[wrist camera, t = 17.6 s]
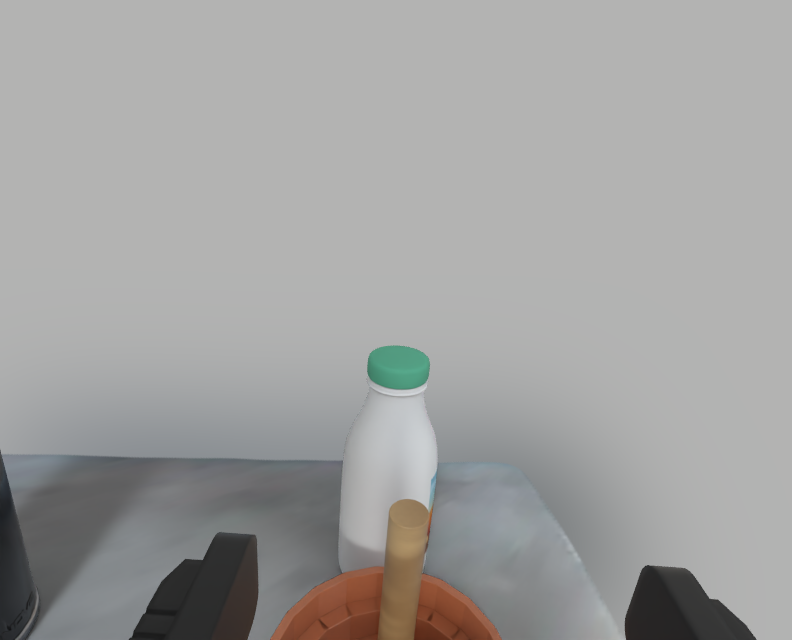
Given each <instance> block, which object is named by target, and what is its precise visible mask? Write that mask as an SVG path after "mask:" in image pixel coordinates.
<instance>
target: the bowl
mask: <svg viewBox="0 0 792 640" xmlns="http://www.w3.org/2000/svg"><path fill="white" fill-rule="evenodd" d="M383 573H384V567H382V566H374V567H369V568H364V569H359V570H354V571H349V572H345V573H342V574H340V575H338V576H336V577H334V578H332V579H330V580H328V581H326V582H324V583H322V584H320V585H318V586H316V587H315V588H313V589H312V590H311V591H310V592H309V593H308V594H307V595H305V596H304V597H303V598H302V599H301V600H300V601H299V602H298V603H297V604H296V605H294V606H293V607H292V608H291V609H290V610H289V611H288V612H287V613H286V615H285V616H284V618H283V619H282V621H281V623H280V624H279V626H278V628H277V629H276V631H275V632H274V634H273V636H272V637H271V639H270V640H378V628H379V617H380V606H381V595H382V584H383ZM414 640H502V639H501V637H500V635H499V633H498V631H497V629H496V628H495V626H494V625H493V624H492V623H491V622H490V621H489V619H488V618H487V617H486V616H485V615H484V614H483V613H482V612H481V611H480V609H479V608H478V607H477V606H476V605H475V604H474V603H473V602H472V600H470V598H468V597H467V596H465V595H464V594H462V593H461V592H459V591H458V590H456V589H455V588H453V587H452V586H450V585H449V584H447V583H446V582H444V581H443V580H440V579H438V578H435V577H432V576H429V575H427V574H424V573H422V579H421V587H420V595H419V602H418V610H417V618H416V626H415V634H414Z"/></svg>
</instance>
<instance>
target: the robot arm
mask: <svg viewBox="0 0 792 640" xmlns="http://www.w3.org/2000/svg"><path fill="white" fill-rule="evenodd" d="M257 599H258V563H257V539H256V536H255V535H249V534H235V533H222V532H219V533H217V534H216V535H215V537H214V539H213V540H212V542H211V544H210V546H209V549H208V551H207V553H206V555H205V557H204V559H203V560H191V559H185V560H184V561H183V562H182V563H181V564H180V565H178V566H177V567H176V568H175V569H174V570H173V571H172V572H171V573H170V574H169V575H168V576H167V577H166V578H165V579H164V580H163V581H162V582H161V584H160V585H159V587H158V589H157V591H156V593H155V594H154V596H153V598H152V600H151V601H150V603H149V605H148V607H147V610H146V613H145V614H143V616H142V617H141V619H140V621H139V623H138V625H137V626H136V628H135V630H134V632H133V636H132V638H130V639H129V640H247V639H248V636H249V633H250V630H251V626H252V623H253V620H254V616H255V611H256V606H257ZM39 610H40V598H39V593H38V589H37V587H36V585H35V583H34V581H33V577H32V573H31V569H30V566H29V561H28V557H27V553H26V549H25V545H24V541H23V537H22V533H21V529H20V525H19V522H18V518H17V514H16V510H15V506H14V502H13V498H12V494H11V490H10V486H9V482H8V479H7V475H6V471H5V467H4V463H3V459H2V455H1V451H0V640H25V638H26V637H27V636H28V634H29V633H30V631H31V629H32V628H33V626H34V624H35V622H36V619H37V617H38V614H39ZM625 635H626V640H756V638H755V637H754V636H753V634H752V633H751V632H750V630H749V629H748V628H747V626H746V625H745V624H744V623H743V622H742V621H741V620H739V618H737V617H736V616H735V615H734V614H733V613H732V612H731V611H730V610H729V609H727V607H725V606H724V605H723V604H722V603H721V602H720V601H719V600H714V599H709V597H708V596H707V594H706V593H705V591H704V590H703V589H702V587H701V585H700V584H699V582H698V581H697V580H696V578H695V577H694V576H693V574H692V573H691V572H690V571H688V570H687V569H685V568H676V567H662V566H649V565H647V566H645V567H644V568H643V569H642V571H641V573H640V576H639V579H638V582H637V585H636V588H635V591H634V594H633V597H632V600H631V603H630V605H629V609H628V611H627V614H626V618H625Z"/></svg>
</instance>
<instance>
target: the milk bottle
mask: <svg viewBox="0 0 792 640" xmlns="http://www.w3.org/2000/svg"><path fill="white" fill-rule="evenodd" d="M429 367H430V362H429V358H428V357H427V356H426V355H425V354H424V353H423V352H421V351H419V350H417V349H414V348H410V347H405V346H385V347H380V348H378V349H375V350H374V351H372V352H371V353H370V356H369V358H368V371H367V372H368V377H367V383H368V385H369V386H370V388H369V392H368V395H367V398H366V401H365V403H364V405H363V407H362V409H361V411H360V412H359V414H358V415H357V417H356V419H355V420H354V422H353V424H352V426H351V428H350V431H349V433H348V437H347V440H346V444H345V449H344V457H343V467H342V482H341V500H340V521H339V544H338V560H339V566H340V569H341V571H342V573H345V572H349V571H354V570H359V569H364V568H369V567H374V566H382V567H384V562H385V550H386V539H387V528H388V517H389V509H390V507H391V506H392V504H394V503H395V502H396V501H399V500H402V499H412V500H416V501H419V502H420V503H422V504H423V505H424V506H425V507H426V508H427V509H428V512H429V524H428V532H427V540H426V548H425V556H424V563H423V570H424V567H425V561H426V555H427V548H428V540H429V533H430V525H431V517H432V510H433V501H434V493H435V485H436V475H437V463H438V452H437V442H436V437H435V433H434V430H433V427H432V424H431V422H430V419H429V417H428V414H427V411H426V407H425V402H424V390H425V389H426V388H427V386H428V382H427V379H428V376H429V369H430V368H429ZM422 573H423V571H422Z"/></svg>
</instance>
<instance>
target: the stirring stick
mask: <svg viewBox="0 0 792 640" xmlns="http://www.w3.org/2000/svg"><path fill="white" fill-rule="evenodd" d="M428 524H429V512H428V509H427V508H426V507H425V506H424V505H423V504H422V503H420V502H419V501H416V500H412V499H402V500H399V501H396V502H395V503H394V504H392V506H391V507H390V509H389V517H388V528H387V539H386V550H385V562H384V573H383V584H382V595H381V606H380V617H379V628H378V640H414V634H415V626H416V618H417V610H418V602H419V595H420V587H421V579H422V571H423V563H424V556H425V548H426V540H427V532H428Z"/></svg>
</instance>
